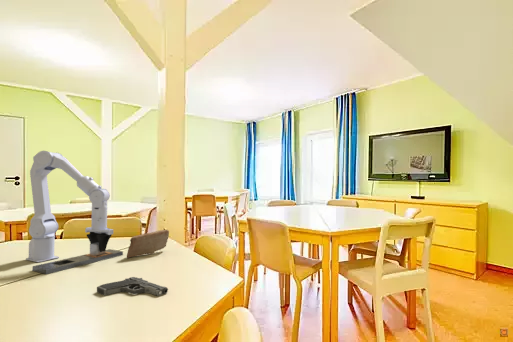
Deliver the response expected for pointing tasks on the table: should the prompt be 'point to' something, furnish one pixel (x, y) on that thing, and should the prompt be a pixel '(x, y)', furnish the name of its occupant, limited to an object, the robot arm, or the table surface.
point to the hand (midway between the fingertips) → (98, 250)
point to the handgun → (132, 287)
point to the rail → (74, 262)
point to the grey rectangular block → (95, 249)
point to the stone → (147, 243)
